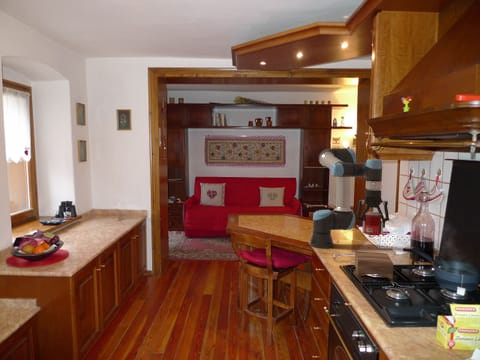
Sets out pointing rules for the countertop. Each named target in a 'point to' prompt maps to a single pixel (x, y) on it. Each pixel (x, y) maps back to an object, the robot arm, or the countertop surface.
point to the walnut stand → (373, 264)
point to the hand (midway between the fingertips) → (372, 233)
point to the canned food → (372, 223)
